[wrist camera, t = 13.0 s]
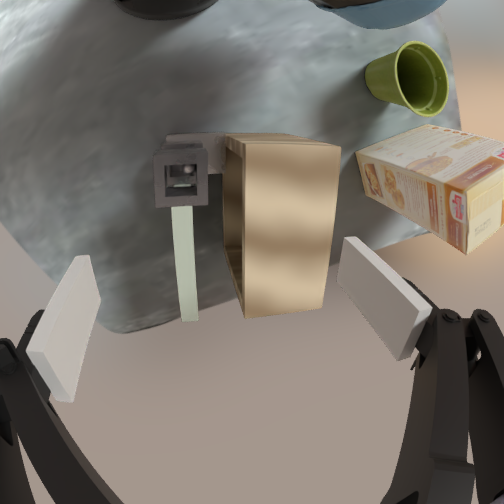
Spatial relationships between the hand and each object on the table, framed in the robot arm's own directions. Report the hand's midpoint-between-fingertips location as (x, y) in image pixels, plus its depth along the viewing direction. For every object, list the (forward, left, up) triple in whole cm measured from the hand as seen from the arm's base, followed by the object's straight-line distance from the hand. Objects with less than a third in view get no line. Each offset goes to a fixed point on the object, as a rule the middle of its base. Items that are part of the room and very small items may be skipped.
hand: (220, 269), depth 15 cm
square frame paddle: (+3, -2, -19) cm, 19 cm away
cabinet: (+2, +3, -22) cm, 22 cm away
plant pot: (-14, +24, -22) cm, 36 cm away
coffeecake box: (-3, +28, -22) cm, 36 cm away
